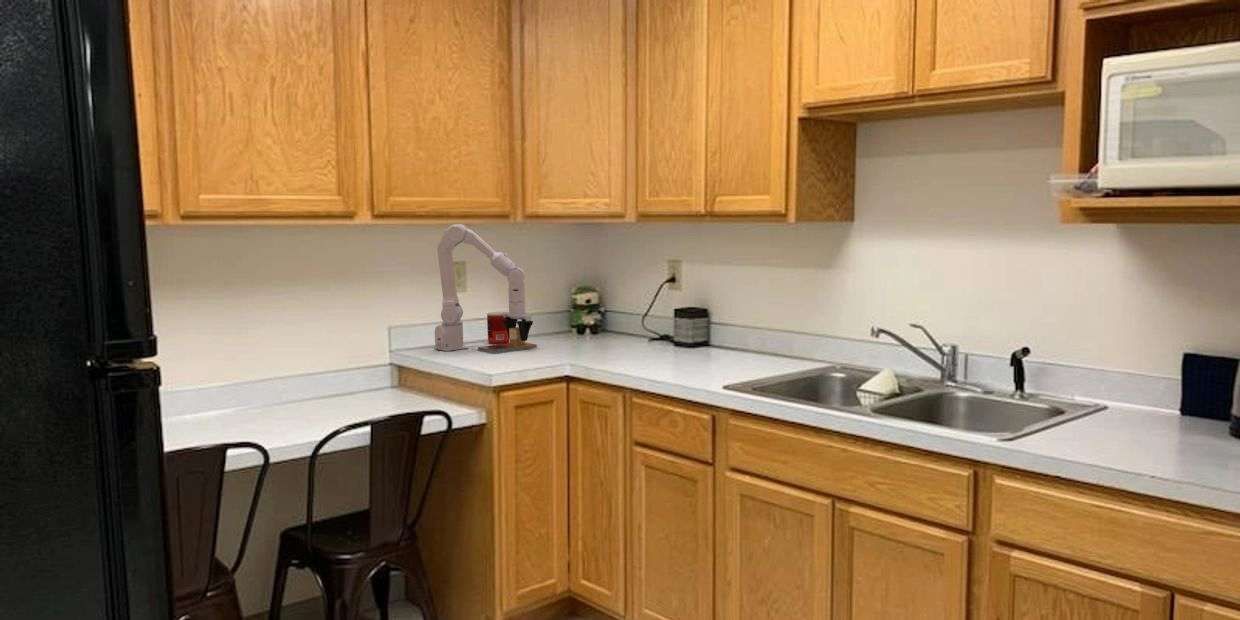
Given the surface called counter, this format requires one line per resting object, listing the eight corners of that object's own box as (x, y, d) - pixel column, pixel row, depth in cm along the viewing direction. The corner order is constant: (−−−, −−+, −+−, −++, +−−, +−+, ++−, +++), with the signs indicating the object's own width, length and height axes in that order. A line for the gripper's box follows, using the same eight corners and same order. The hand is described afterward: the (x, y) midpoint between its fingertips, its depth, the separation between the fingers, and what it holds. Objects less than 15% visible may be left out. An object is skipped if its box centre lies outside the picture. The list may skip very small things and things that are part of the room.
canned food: (513, 341, 336) (512, 312, 334) (499, 344, 329) (499, 314, 328) (497, 340, 340) (496, 311, 338) (483, 343, 333) (482, 313, 332)
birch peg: (516, 349, 319) (515, 329, 318) (509, 347, 322) (509, 328, 321) (525, 347, 322) (525, 328, 321) (519, 346, 325) (518, 327, 324)
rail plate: (493, 353, 309) (493, 350, 309) (478, 350, 317) (477, 346, 317) (536, 347, 321) (536, 344, 321) (520, 344, 329) (520, 341, 329)
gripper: (538, 302, 317) (539, 340, 319) (514, 299, 328) (515, 336, 330) (521, 303, 313) (522, 342, 314) (498, 300, 323) (499, 338, 325)
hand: (517, 339), depth 322 cm, fingers open, 7 cm apart
